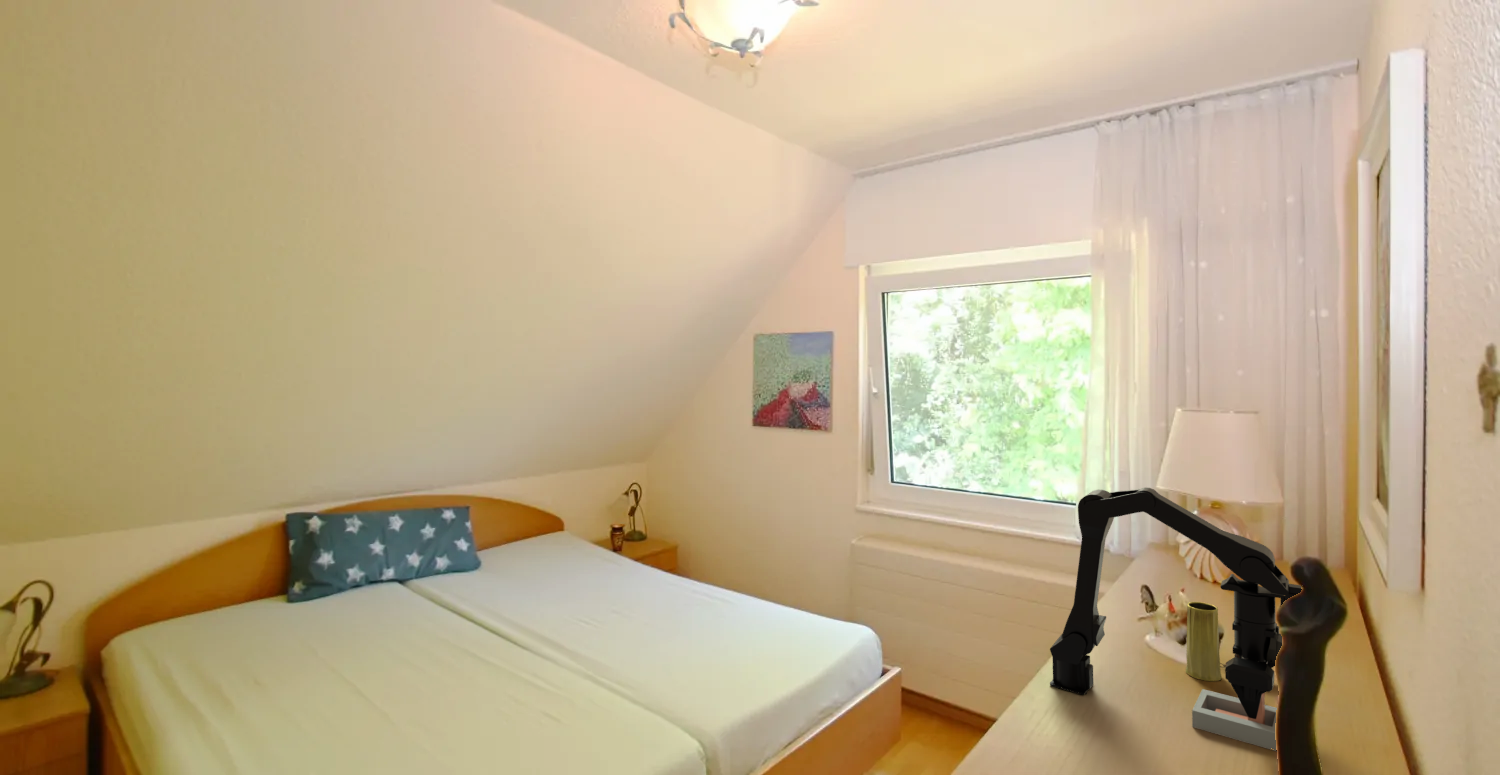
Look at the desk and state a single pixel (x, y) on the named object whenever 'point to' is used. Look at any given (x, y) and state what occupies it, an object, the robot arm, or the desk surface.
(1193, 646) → the vase
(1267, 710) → the well block
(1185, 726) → the desk surface
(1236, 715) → the bracket
